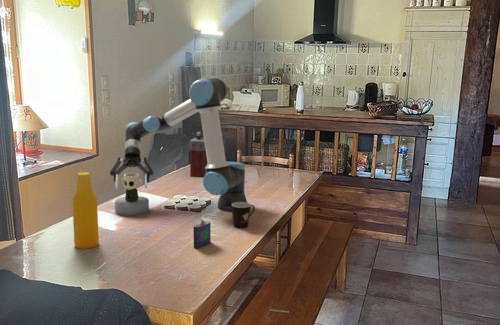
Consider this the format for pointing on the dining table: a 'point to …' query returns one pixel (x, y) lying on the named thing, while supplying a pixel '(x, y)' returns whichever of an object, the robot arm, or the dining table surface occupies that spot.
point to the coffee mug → (241, 214)
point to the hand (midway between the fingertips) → (131, 187)
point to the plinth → (131, 206)
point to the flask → (202, 234)
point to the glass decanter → (197, 157)
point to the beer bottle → (85, 213)
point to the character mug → (131, 185)
